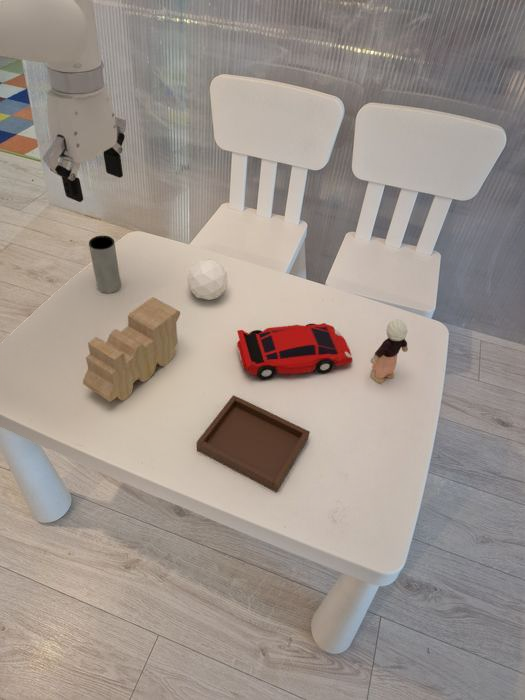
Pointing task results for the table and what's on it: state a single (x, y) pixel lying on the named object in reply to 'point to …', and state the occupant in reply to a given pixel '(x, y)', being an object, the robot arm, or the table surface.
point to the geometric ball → (207, 279)
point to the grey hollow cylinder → (105, 264)
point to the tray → (253, 442)
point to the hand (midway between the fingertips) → (95, 186)
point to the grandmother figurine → (389, 351)
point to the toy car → (292, 350)
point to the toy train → (132, 350)
